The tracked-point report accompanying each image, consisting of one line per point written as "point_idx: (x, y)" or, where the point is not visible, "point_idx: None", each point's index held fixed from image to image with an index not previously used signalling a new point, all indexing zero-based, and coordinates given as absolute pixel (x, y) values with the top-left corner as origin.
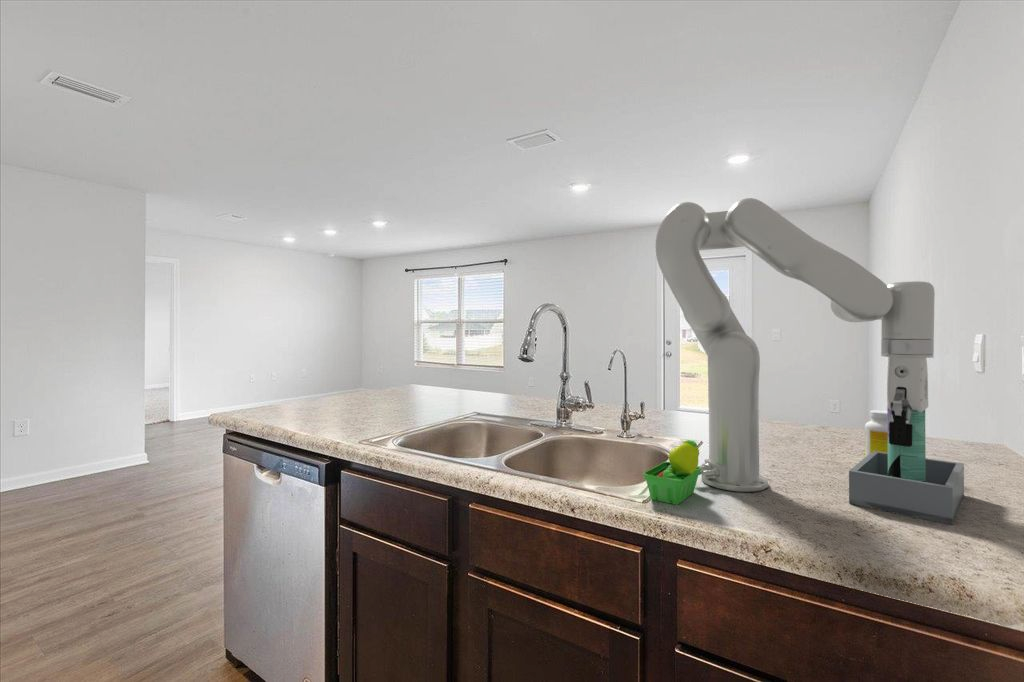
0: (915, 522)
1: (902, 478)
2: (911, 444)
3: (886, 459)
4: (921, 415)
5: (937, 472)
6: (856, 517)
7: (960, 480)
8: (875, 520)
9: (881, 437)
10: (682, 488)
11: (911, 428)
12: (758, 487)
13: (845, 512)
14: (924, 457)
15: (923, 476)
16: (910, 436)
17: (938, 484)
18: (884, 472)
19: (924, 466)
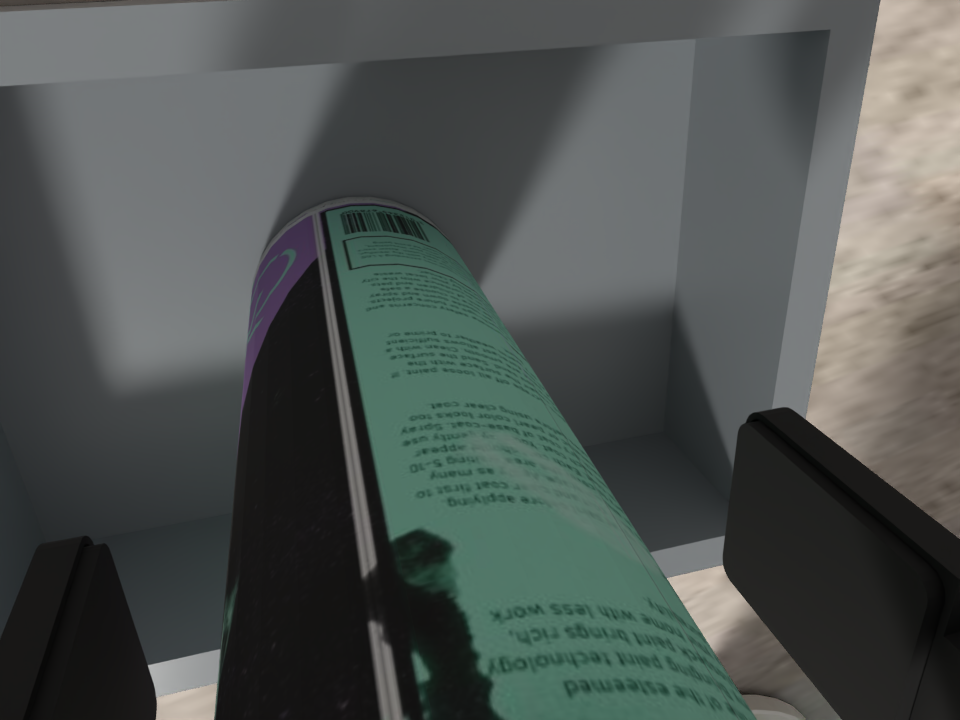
0: None
1: (793, 296)
2: (793, 415)
3: None
4: (694, 710)
5: None
6: (856, 341)
7: (148, 2)
8: (853, 274)
9: None
10: None
11: (949, 535)
12: (763, 706)
13: (813, 394)
14: (422, 309)
15: (413, 247)
16: (863, 474)
17: (826, 73)
18: (25, 541)
19: (406, 274)
